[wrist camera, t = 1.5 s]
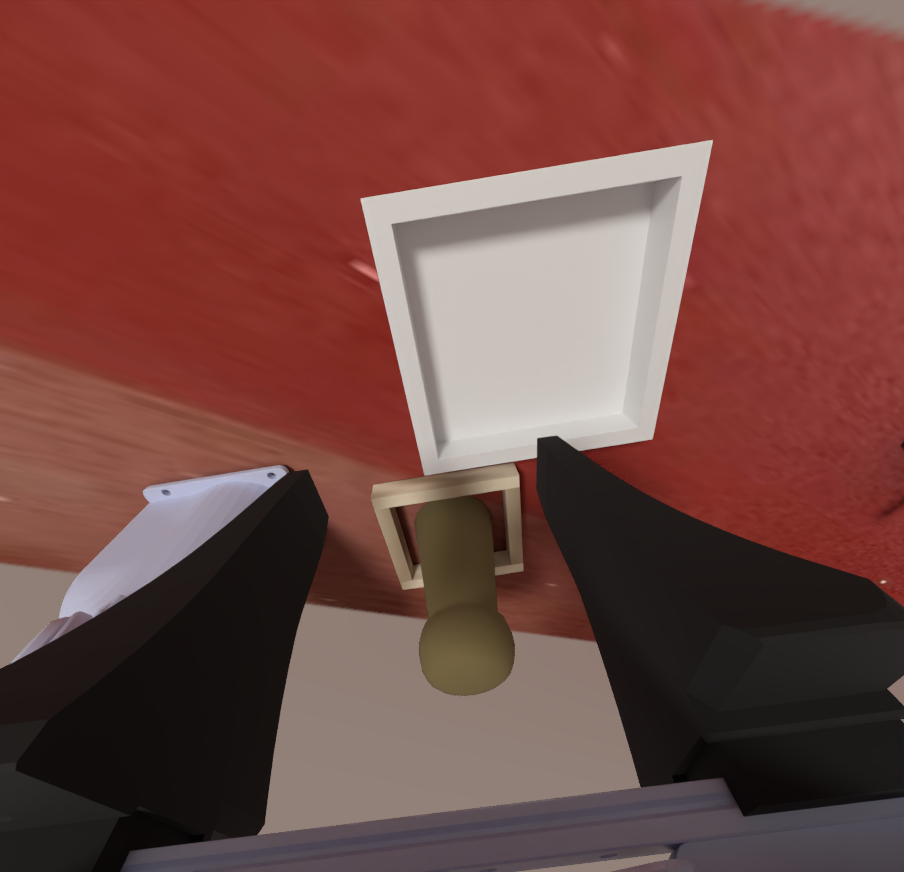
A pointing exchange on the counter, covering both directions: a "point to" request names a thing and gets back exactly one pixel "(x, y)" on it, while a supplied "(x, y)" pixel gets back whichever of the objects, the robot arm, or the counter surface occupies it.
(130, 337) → the counter surface
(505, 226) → the tray
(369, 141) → the counter surface
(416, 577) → the collar
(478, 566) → the cork
